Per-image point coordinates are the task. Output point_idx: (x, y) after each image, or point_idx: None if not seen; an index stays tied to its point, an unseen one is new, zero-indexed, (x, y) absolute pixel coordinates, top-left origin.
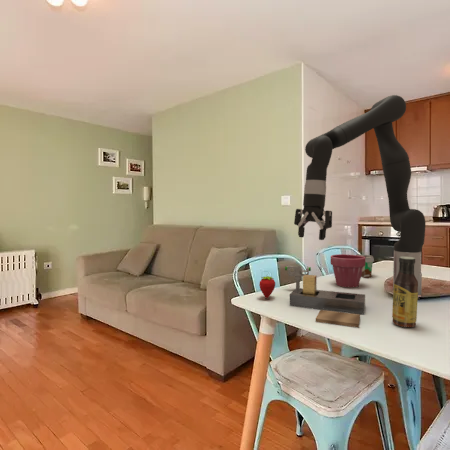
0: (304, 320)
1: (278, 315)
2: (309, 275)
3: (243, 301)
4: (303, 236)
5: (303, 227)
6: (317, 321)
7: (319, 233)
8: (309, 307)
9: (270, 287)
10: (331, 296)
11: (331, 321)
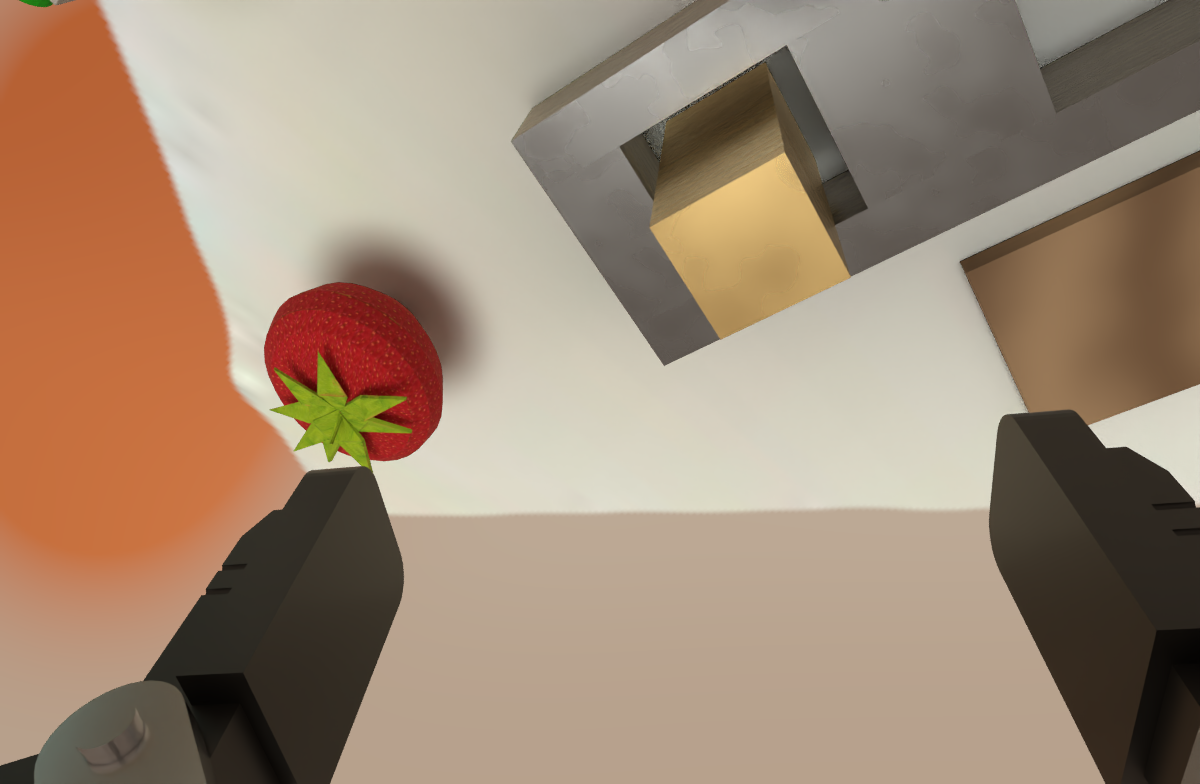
0: (960, 457)
1: (773, 503)
2: (719, 223)
3: (391, 482)
4: (366, 484)
5: (266, 721)
6: None
7: (1058, 679)
8: None
9: (441, 397)
10: (1000, 107)
11: (1157, 393)
